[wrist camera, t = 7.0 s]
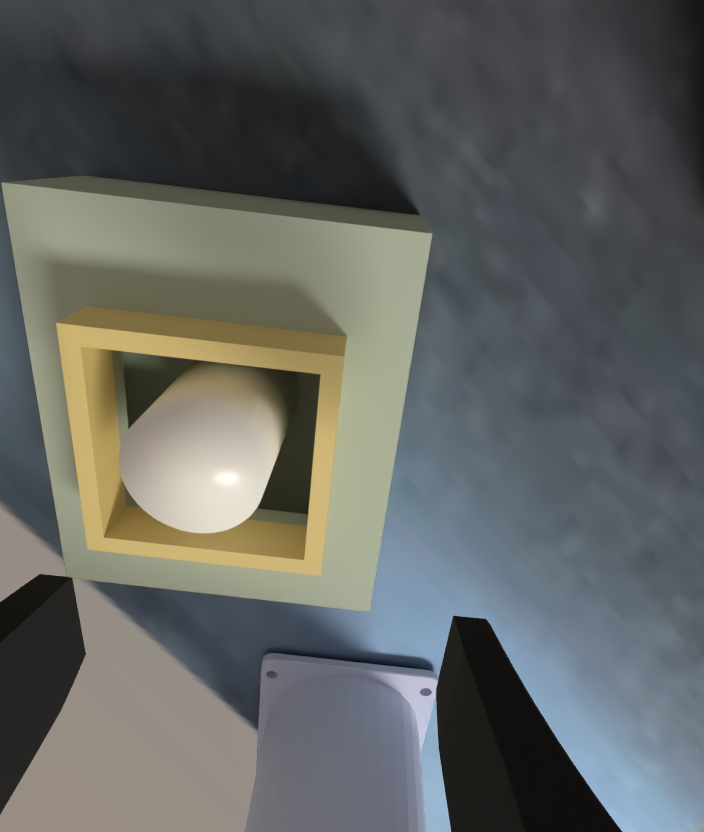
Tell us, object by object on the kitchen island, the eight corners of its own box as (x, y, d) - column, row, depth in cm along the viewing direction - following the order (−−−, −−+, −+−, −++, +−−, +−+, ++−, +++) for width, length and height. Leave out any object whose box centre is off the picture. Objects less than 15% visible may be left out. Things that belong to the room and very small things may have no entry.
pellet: (299, 437, 19) (267, 537, 14) (197, 432, 19) (130, 528, 14) (298, 338, 17) (262, 411, 12) (187, 332, 17) (107, 402, 12)
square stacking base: (370, 534, 21) (368, 649, 16) (119, 505, 21) (41, 612, 16) (420, 215, 16) (438, 243, 11) (85, 175, 16) (-45, 186, 11)
